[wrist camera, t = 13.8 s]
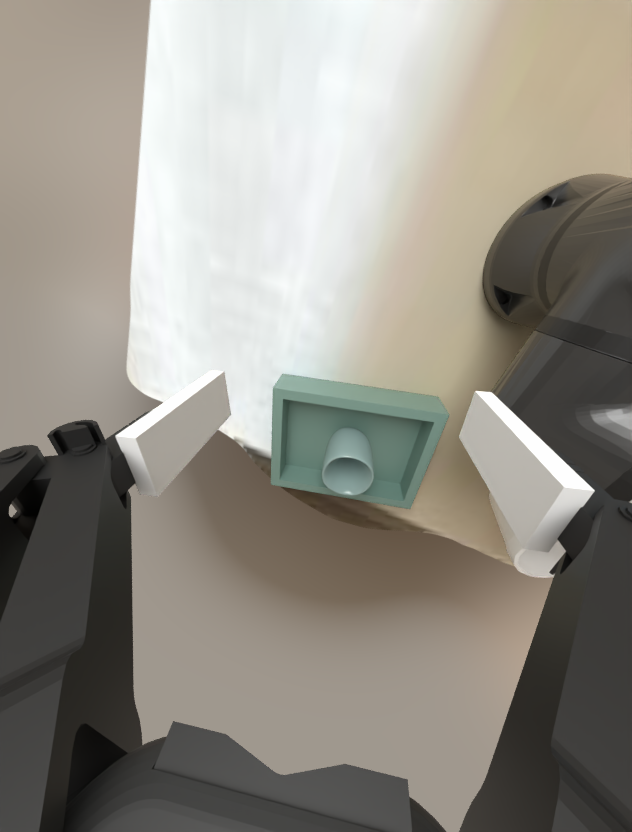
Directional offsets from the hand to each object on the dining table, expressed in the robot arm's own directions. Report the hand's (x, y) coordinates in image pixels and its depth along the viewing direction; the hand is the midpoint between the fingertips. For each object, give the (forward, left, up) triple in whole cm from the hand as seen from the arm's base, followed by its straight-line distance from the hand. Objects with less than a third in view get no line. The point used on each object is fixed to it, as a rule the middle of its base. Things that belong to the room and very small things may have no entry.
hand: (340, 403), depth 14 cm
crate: (-3, +20, -28) cm, 35 cm away
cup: (-3, +20, -27) cm, 34 cm away
